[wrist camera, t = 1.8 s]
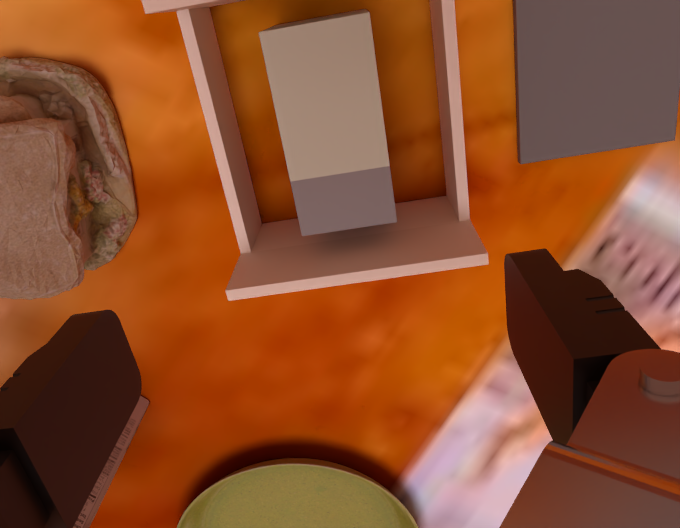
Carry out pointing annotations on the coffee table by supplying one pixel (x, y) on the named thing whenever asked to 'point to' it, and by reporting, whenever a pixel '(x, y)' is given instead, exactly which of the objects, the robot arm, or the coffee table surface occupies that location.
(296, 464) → the saucer
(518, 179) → the coffee table surface
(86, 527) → the coffee box
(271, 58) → the box
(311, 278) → the carton
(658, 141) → the mat
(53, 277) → the ceramic model
